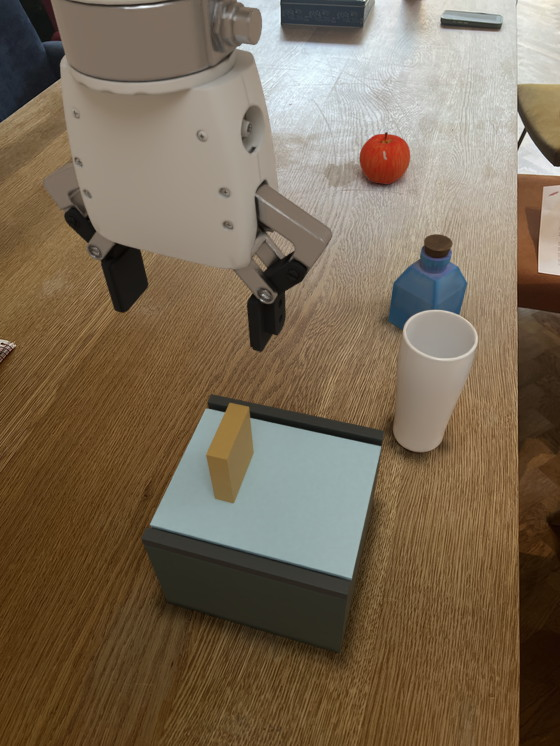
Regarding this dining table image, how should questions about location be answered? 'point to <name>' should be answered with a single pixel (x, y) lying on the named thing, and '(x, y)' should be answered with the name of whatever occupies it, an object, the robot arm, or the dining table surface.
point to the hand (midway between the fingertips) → (197, 317)
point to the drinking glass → (431, 376)
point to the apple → (384, 158)
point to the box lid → (272, 491)
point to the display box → (261, 562)
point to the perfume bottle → (428, 283)
